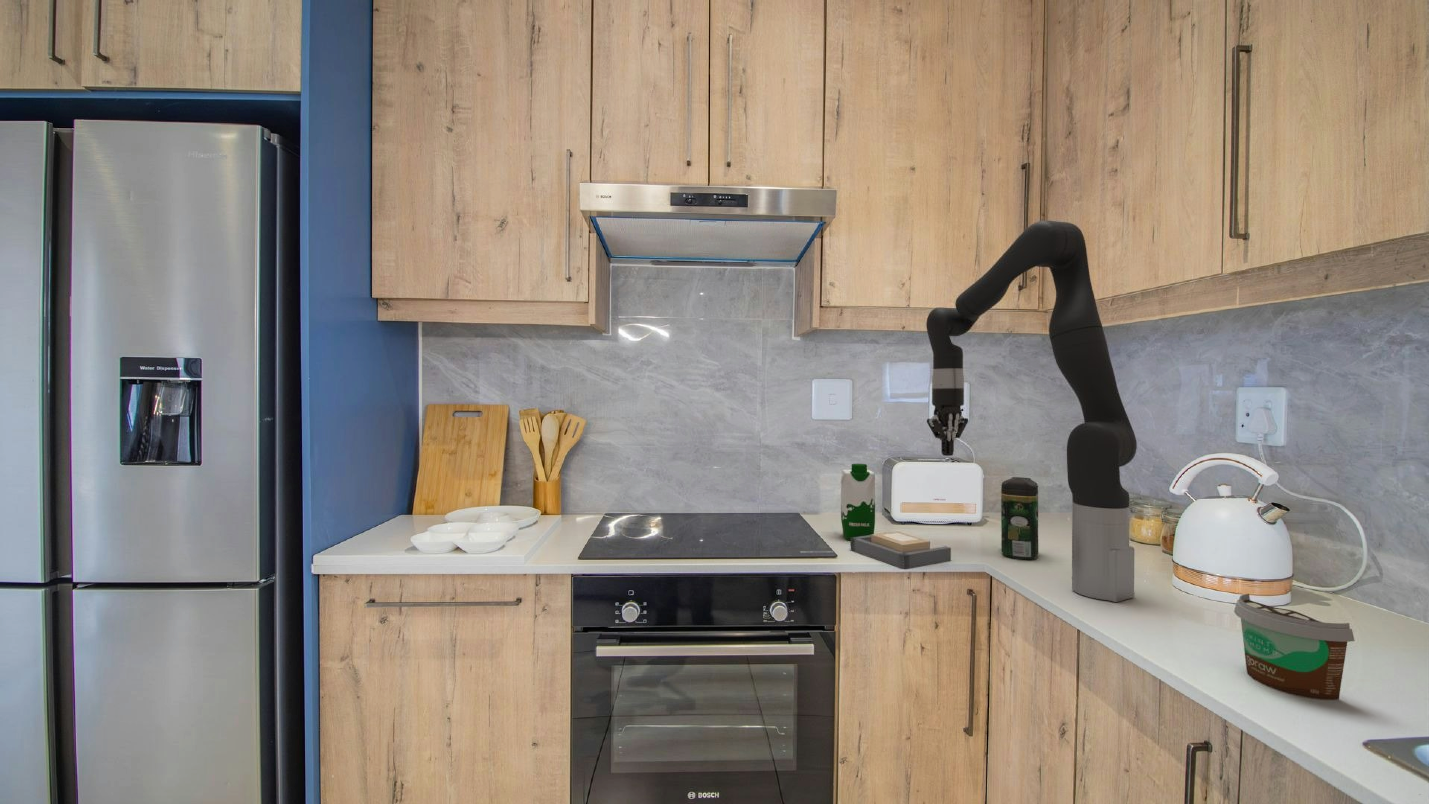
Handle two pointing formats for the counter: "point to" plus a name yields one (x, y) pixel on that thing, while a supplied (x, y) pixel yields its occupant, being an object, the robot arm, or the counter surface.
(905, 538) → the carton
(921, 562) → the grey u-shaped bracket
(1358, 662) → the counter surface
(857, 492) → the milk carton
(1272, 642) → the food container
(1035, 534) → the coffee jar
